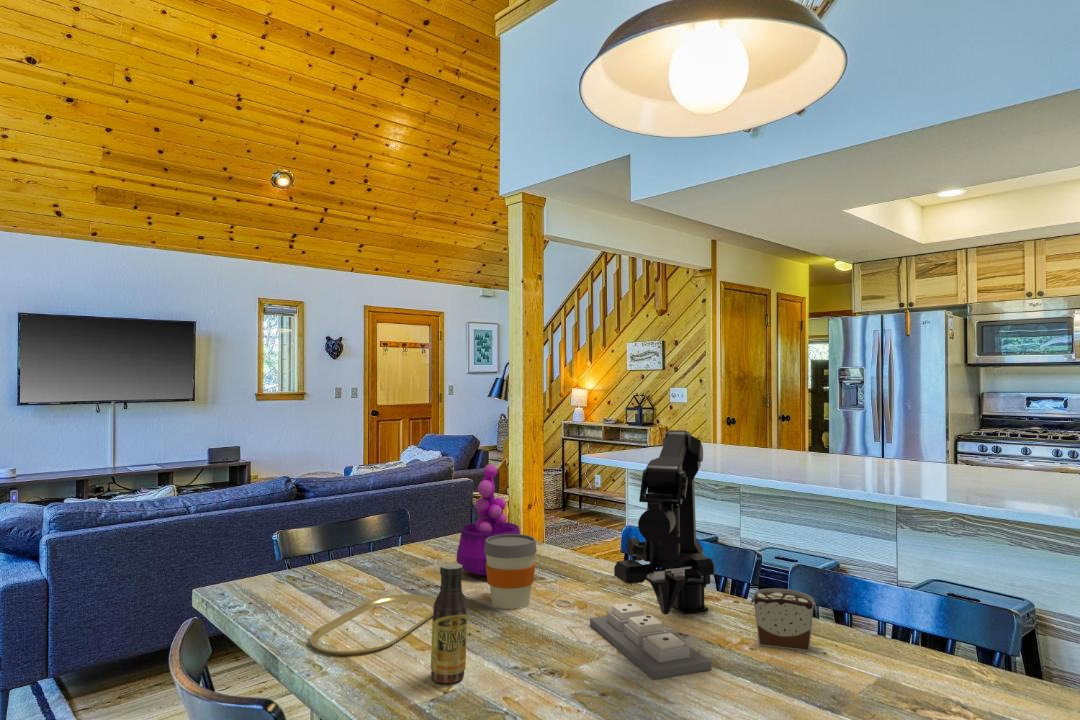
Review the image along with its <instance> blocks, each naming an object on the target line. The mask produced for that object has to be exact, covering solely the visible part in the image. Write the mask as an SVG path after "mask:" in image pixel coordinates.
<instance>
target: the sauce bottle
mask: <svg viewBox="0 0 1080 720" xmlns="http://www.w3.org/2000/svg"><path fill="white" fill-rule="evenodd" d="M439 569H440V570H439V573H440V588H439V589H440V591H439V594H437V596H436V599H435V600H436V601H435V603H434V610H432V613H433V611H434V613H433V616H432V620H431V621H432V624H431V626H432V627H431V648H430V650H431V652H430V670H431V672H430V673H431V674H430V678H431V679H432V681H433V682H436V683H438V684H455V683H456V682H460V681H461V680H463V678H464V676H465V670H466V669H467V668H466V665H467V636H468V635H467V634H468V633H467V630H468V629H467V628H468V611H467V610H468V606H467V605H468V604H467V599H466V596H465V595H464V593H463V591H462V588H463V587H462V581H463V580H462V576H463V571H464V570H463V566H462V565H461V564H458V563H455V562H450V563H443V564H442V565H440V568H439Z"/></svg>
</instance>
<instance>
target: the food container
mask: <svg viewBox="0 0 1080 720" xmlns="http://www.w3.org/2000/svg"><path fill="white" fill-rule="evenodd" d="M752 604H753V606H754V607H753V608H754V612H755V613H754V614H755V615H754V616H755V622H756V630H757V639H758V640H757V641H758V646H762V647H763V646H764V647H769V648H777V647H780V649H786V648H788V649H787V650H794V649H795V651H796V650H797V651H802V650H803V651H804V652H810V649H811V637H812V629H813V628H812V627H813V618H814V617H813V615H814V610H815V611H816V612H817V611H818V609H817V606H816V602H815V599H814V598H813V597H812V596H810V595H809V594H806V593H804V592H801V591H798V590H792V589H786V588H773V587H772V588H762V589H758V590H756V591H755V592H754V593H753V595H752V596H751V601H750V605H752ZM781 647H782V648H781Z"/></svg>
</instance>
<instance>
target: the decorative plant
mask: <svg viewBox="0 0 1080 720" xmlns="http://www.w3.org/2000/svg"><path fill="white" fill-rule="evenodd" d="M482 472H483V475H484V476H485V477H483V478H482V480H480V482H479V484H478V486H477V492H478V494H479V495H480V496H481V497H482V498H481V497H480V498H479V499H477V500H476V502H475V506H474V507H475V508H476V510H477V513H478V515H479V516H480V517H479V519H478V520H476V522H473V523H469V524H465V525H463V526H462V528H461V531H460V536H459V537H460V539H459V543H458V547H457V551H456V561H455V562H457V564H461V565H462V566H463V571H466V572H468V573H471V574H473V575H478V576H483V577H484V576H486V577H487V573H486V565H485V564H486V562H487V559H486V554H485V553H484V550H485V540H486V539H487V538H489V537H491V536H495V535H503V534H521V532H520V527H519V525H518V524H515V523H512V522H507V519H508V518H507V515H506V514H505V513H503V510H505V508H506V506H507V502H506V500H505V499H504V498H503V497H495V491H496V489H495V488H496V487H495V486H496V485H495V481H494V477H495V478H496V476H497V474H498V469H497V466H496V465H494V464H491V463H490V464H486V465H485V466H484V468H483V471H482Z"/></svg>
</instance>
